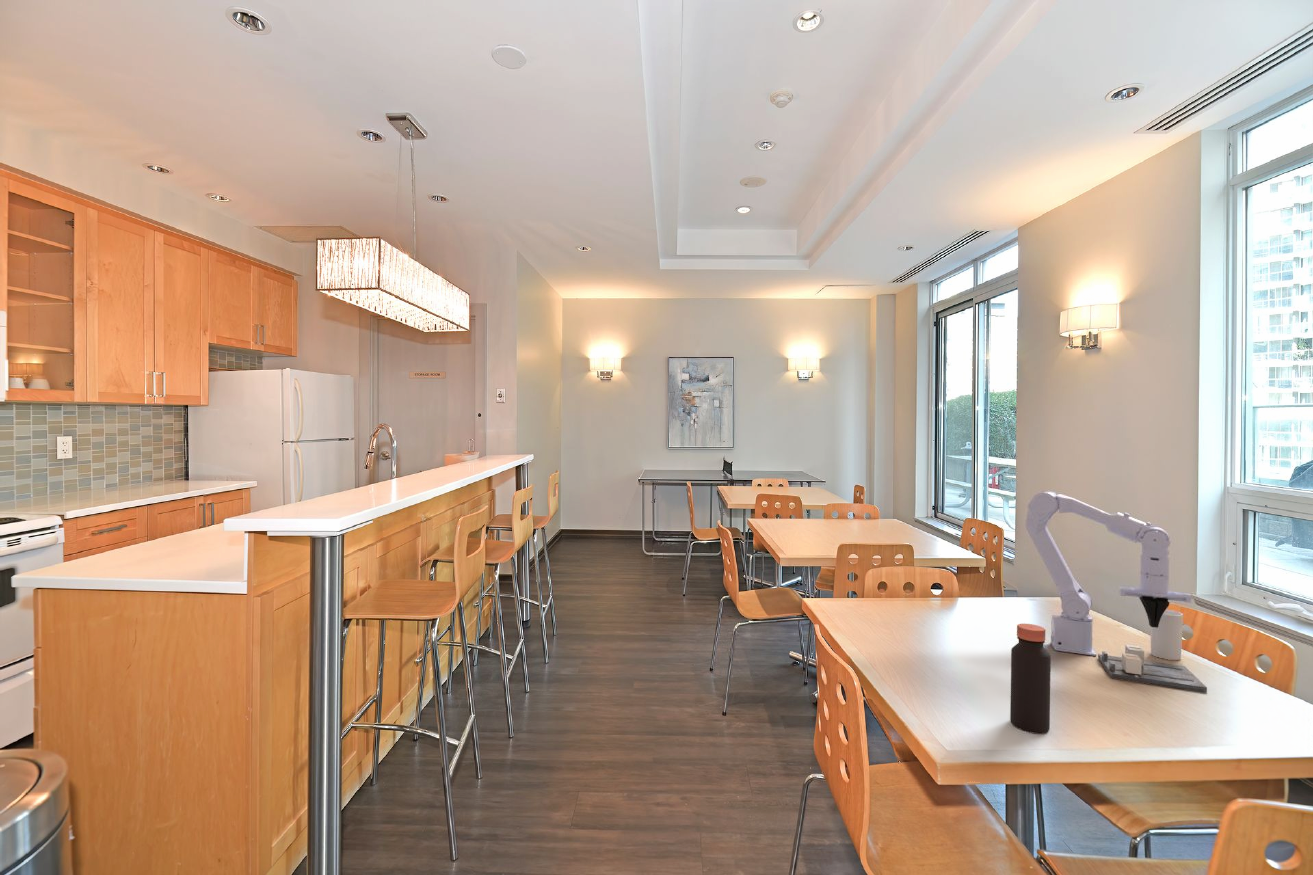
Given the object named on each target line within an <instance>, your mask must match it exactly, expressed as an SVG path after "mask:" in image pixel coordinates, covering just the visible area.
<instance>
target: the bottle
mask: <svg viewBox="0 0 1313 875" xmlns="http://www.w3.org/2000/svg"><path fill="white" fill-rule="evenodd" d="M1016 636H1017V637H1016V639H1018V642H1017V643H1016V644H1015V645H1013V646H1012V647H1011V651H1010V652H1011V654H1010V707H1009V708H1010V710H1009V711H1010V714H1009V716H1010V717H1009V718H1010V719H1009V720H1010V723H1011V725H1013V726H1014V727H1015V728H1017V729H1019V730H1021V731H1024V732H1028V733H1032V734H1047V733H1048V732H1049V730H1051V729H1050V726H1051V725H1050V724H1051V722H1050V720H1051V672H1052V671H1051V664H1052V660H1051V658H1052V657H1051V654H1050V652H1049V651H1048V650H1047V648H1045V647H1044V644H1045V643H1046V628H1045V627H1043V626H1041V625H1038V624H1033V623H1018V624H1016Z"/></svg>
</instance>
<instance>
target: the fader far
mask: <svg viewBox="0 0 1313 875" xmlns="http://www.w3.org/2000/svg"><path fill="white" fill-rule="evenodd" d="M1124 646H1125V648H1124V650H1125V652H1124V653H1126V654H1134V655H1138V657H1139V658H1140V659H1141V660H1142V665H1144V660H1145V651H1144V650H1143V649H1142V647H1141V646H1137V645H1131V644H1130V645H1129V644H1125V645H1124Z"/></svg>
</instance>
